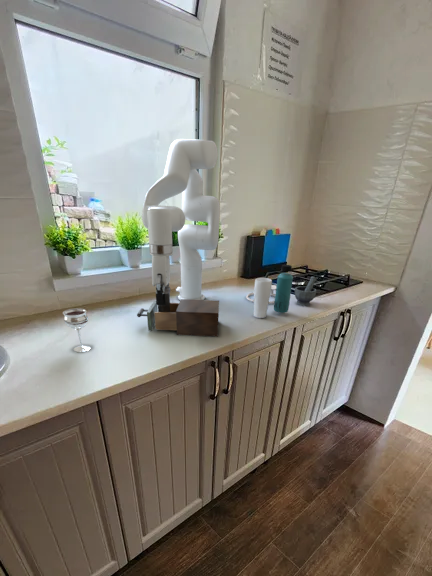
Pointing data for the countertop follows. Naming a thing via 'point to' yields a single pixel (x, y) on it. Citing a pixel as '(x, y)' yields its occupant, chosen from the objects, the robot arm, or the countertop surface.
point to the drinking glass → (261, 296)
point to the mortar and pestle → (305, 293)
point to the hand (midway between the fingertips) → (163, 301)
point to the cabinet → (197, 317)
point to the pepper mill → (166, 307)
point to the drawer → (160, 317)
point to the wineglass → (77, 324)
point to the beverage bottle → (283, 290)
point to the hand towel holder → (270, 295)
